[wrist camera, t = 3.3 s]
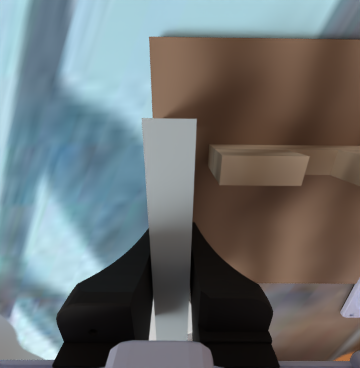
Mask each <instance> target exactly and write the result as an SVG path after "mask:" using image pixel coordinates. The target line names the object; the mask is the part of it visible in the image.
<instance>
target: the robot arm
mask: <svg viewBox="0 0 360 368" xmlns="http://www.w3.org/2000/svg"><path fill="white" fill-rule="evenodd" d="M190 292H191V313H192V336H193V341H160V340H149V334H150V324H151V315H152V306H153V298H154V296H153V281H152V266H151V251H150V236H149V228H148V230H147V231H146V232H145V233H144V235H143V236H142V237H141V238H140V239H139V240H138V242H137V243H136V244H135V245H134V246H133V247H132V248H131V249H130V250H129V251H128V252H126V253H125V254H124V255H123V256H122V257H120V258H119V259H118V260H116V261H115V262H114V263H112V264H111V265H110V266H108V267H107V268H105V269H103V270H102V271H100V272H99V273H97V274H95V275H93V276H91V277H90V278H88V279H86V280H84V281H82V282H80V283H78V284H77V285H76V286H75V288H74V289H73V290H72V292H71V293H70V295H69V296H68V298H67V299H66V301H65V303H64V304H63V306H62V307H61V309H60V311H59V312H58V314H57V318H56V320H57V325H58V328H59V330H60V333H61V335H62V338H63V341H64V343H63V345H62V347H61V349H60V351H59V353H58V355H57V357H56V358H55V360H0V368H360V350H359V351H356V352H355V353H353V354H352V356H351V358H350V361H278V360H277V357H276V355H275V352H274V350H273V348H272V345H271V343H272V338H271V336H270V333H269V331H268V329H269V326H270V323H271V320H272V317H273V310H272V307H271V305H270V302H269V300H268V298H267V297H266V295H265V293H264V292H263V290H262V289H261V287H260V285H258V284H257V283H255V282H254V281H252V280H250V279H249V278H247V277H245V276H244V275H242V274H241V273H240V272H238V271H237V270H235V269H234V268H233V267H232V266H230V265H229V264H228V263H227V262H226V261H224V260H223V259H222V258H221V257H220V256H219V255H218V254H217V253H216V252H215V251H214V249H213V248H212V247H211V246H210V245H209V243H208V242H207V241H206V239H205V238H204V237H203V235H202V234H201V232H200V230H199V229H198V227H197V225H196V223H195V222H192V242H191V265H190ZM340 313H341V314H342V316H343V317H360V278H359V280H358V282H357V283H356V284H355V285H354V287H353V289H352V291H351V293H350V295H349V297H348V298H347V300H346V302H345V304H344V306H343V308H342V310H341V312H340Z"/></svg>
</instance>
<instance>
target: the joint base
mask: <svg viewBox="0 0 360 368" xmlns="http://www.w3.org/2000/svg"><path fill="white" fill-rule="evenodd" d="M149 43H150V65H151V88H152V111H153V118H163V119H197V124H196V148H195V171H194V195H193V218H192V222H195V223H196V225H197V227H198V229H199V230H200V232H201V234H202V235H203V237H204V238H205V239H206V241H207V242H208V243H209V245H210V246H211V247H212V248H213V249H214V251H215V252H216V253H217V254H218V255H219V256H220V257H221V258H222V259H223V260H224V261H226V262H227V263H228V264H229V265H230V266H232V267H233V268H234V269H235V270H237V271H238V272H240V273H241V274H242V275H244V276H245V277H247V278H249V279H250V280H252V281H254V282H255V283H329V284H356V283H357V282H358V280H359V278H360V40H353V39H278V38H202V37H149Z"/></svg>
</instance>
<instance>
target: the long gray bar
mask: <svg viewBox="0 0 360 368" xmlns="http://www.w3.org/2000/svg"><path fill="white" fill-rule="evenodd" d="M196 124H197V119H163V118H142V130H143V145H144V160H145V175H146V190H147V206H148V221H149V236H150V251H151V266H152V281H153V296H154V311H155V327H156V340H160V341H187V336H188V312H189V289H190V265H191V242H192V218H193V195H194V171H195V148H196Z"/></svg>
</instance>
